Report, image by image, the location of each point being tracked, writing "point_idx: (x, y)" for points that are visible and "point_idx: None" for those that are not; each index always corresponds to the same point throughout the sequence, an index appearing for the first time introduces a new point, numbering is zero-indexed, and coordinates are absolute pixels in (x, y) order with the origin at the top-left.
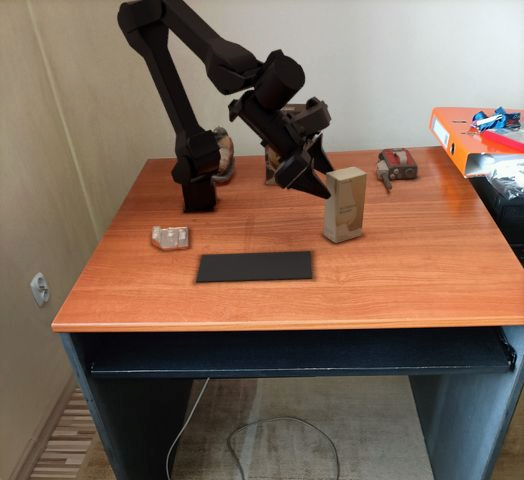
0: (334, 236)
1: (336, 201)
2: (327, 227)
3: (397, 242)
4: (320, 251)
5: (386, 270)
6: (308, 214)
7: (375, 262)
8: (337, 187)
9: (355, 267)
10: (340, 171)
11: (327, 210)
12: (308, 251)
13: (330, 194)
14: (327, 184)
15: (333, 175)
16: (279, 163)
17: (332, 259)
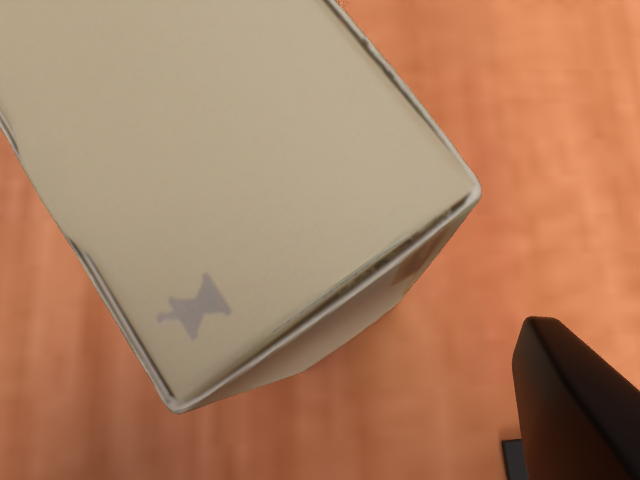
0: (395, 304)
1: (420, 271)
2: (333, 349)
3: (362, 8)
4: (483, 381)
5: (630, 58)
6: (34, 477)
7: (563, 104)
8: (448, 238)
9: (625, 195)
10: (143, 183)
11: (317, 355)
12: (513, 453)
13: (563, 325)
14: (264, 374)
15: (301, 286)
16: None
17: (562, 312)
